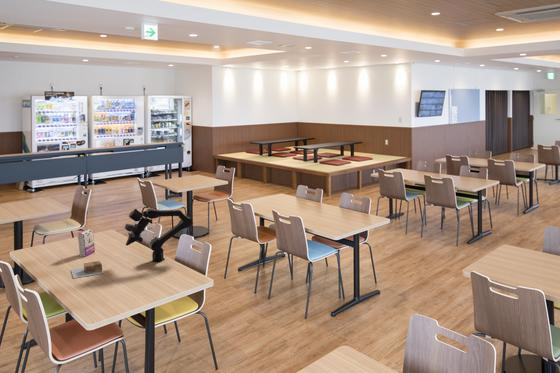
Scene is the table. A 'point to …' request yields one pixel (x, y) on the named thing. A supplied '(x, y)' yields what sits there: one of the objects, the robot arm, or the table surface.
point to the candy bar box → (86, 243)
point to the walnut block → (92, 267)
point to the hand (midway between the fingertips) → (126, 245)
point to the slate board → (82, 273)
